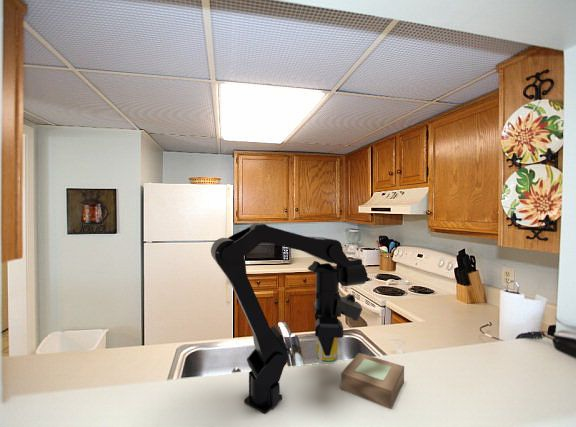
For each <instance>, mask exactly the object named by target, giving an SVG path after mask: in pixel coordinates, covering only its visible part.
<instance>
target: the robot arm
mask: <svg viewBox="0 0 576 427" xmlns="http://www.w3.org/2000/svg"><path fill="white" fill-rule="evenodd" d="M263 242H265V243H270V244H272V245H277V246H281V247H285V248H289V249H293V250H297V251H301V252H304V253H305V254H307V255H310V256H312V257H313V258H316V259H319V260H321V261H324V262H326V263H320V262H319V261H316V260H314V261H313V262H312V264H310V265H309V266H308V267H307V270H308V271H310V272H313V273H314V274H315V301H314V302H313V304H314V305H313V307H314V312H315V313H314V319H315V321H314V329H315V330H314V334H315V337H316V336H317V337H318V339H319V341H320V344H321V346H322V349H323V351H324V354H325V355H326V356H329V355H330V353H331V349H332V345H333V341H334V338H338V339H342V338H344V327H343V323H342V321H341V320H340V319H339V318H341V317H342V315H343V316H345V317H348V318H351V319H352V320H353V321H356V322H359V319H360V316H361V314H362V311H363V306H362V305H361V304H360V303H359V302H358V301H356V297H355V296H354V295H355V294H351V293H348V294H346V296H344V295H343V296H341V295H340V290H339V287H340V286H339V285H341V286H342V287H349V286H350V287H351V286H358V285H359V286H360V285H364V284H365V283H366V282H367V280H368V273H367V269H366V267H365V265H364V264H363V259H361V258H358V257H356V258H351V259H349V257H348V256H347V255H346V254H345V251H344V250H343V245H342V243H341V242H340V241H339V240H337V239H335V238H334V239H333V238H328V237H324V236H323V237H321V236H305V235H302V234H298V233H295V232H291V231H287V230H284V229H280V228H276V227H272V226H268V225H267V224H265V223H261V222H254V223H252V224H251V225H250V226H248V227H246V228H244V229H242V230H240V231H238V232H236V233H233V234H231V236H228V237H220V238H218V239H217V240H215V241H214V242H213V243H212V245H211V248H210V254H211V255H210V256H211V257H212V258H213V260H214V261H215V263H216V264H217V265H218V267H219V268H220V269H221V272H222V273H223V274H224V275H225V276H226V278H227V280H229V283H230V285H231V287H232V290H233V292H234V293H235V296H236V298H237V300H238V303H239V305H240V306H241V310H242V311H243V314H244V315H245V318H246V320H247V323H248V325H249V326H250V329H251V331H252V338H253V344H254V347H255V348H254V350H253V351H252V352H251V353H250V354H249V355H248V356H247V357H246V362H247V364H248V367H249V368H250V371H249V372H248V396H247V397H245V398H244V400H243V401H244V404H246V405H248V406H250V407H252V408H254V409H256V410H257V411H260V412H262V413H263V414H267V413H268V412H269V411H271V409H272V408H273V407H275V406H276V405H277V404H278V403H279V402H280V401H281V400H282V399H283V395H282V394H281V390H280V389H281V388H280V386H281V385H280V380H281V378H282V375H283V371H284V368H285V367H286V365H287V363H288V360H289V351H290V349H289V347H288V346H287V345H286V342H285V338H284V336H283V334H282V333H281V332H280V330H279V329H277V327H276V326H275V325H274V324H273V325H272V326H270V325H269V323H268V320H267V318H266V315H265V313H264V311H263V309H262V307H261V304H260V302H259V300H258V298H257V296H256V293H255V291H254V288H253V286H252V283H251V281H250V279H249V277H248V274H247V273H248V272H247V265H246V259H245V256H247V255H248V254H250V253H251V252H252V251H253V250H254V249H256V247H258V246H259V245H260V244H262V243H263ZM332 264H334V265H332Z"/></svg>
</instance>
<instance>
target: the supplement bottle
mask: <svg viewBox="0 0 576 427" xmlns="http://www.w3.org/2000/svg"><path fill="white" fill-rule="evenodd" d="M315 338H316V339H315V340H316V341H315V359H316V361H317V362H319V364H323V365H328V366H329V365H333V364H335V363H337V361H338V345H339V344H338V342H339V340H338V339H339V338H334V341H333V345H332V349H331V353H330V355H329V356H326V355H325V354H324V351H323V349H322V346H321V344H320V341H319V339H318V337H317V336H315Z"/></svg>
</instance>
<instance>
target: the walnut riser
mask: <svg viewBox="0 0 576 427" xmlns="http://www.w3.org/2000/svg"><path fill="white" fill-rule="evenodd" d="M404 383H405V365H401V364H399V363H395V362H392V361H391V362H390V361H387V360H385V359H382V358H377V357H374V356H371V355H368V354H364V353H361V352H358V353H357V354H356V355H355V357H354V358H352V360H351V361H350V363H348V364H347V366H346V367H345V368H344V369H343V370H342V371H341V374H340V390H342V391H344V392H347V393H350V394H352V395H354V396H357V397H360V398H363V399H366V400H368V401H370V402H373V403H375V404H377V405H380V406H383V407H385V408H388V409H393V407H394V404H395V402H396V400H397V398H398V395H399V394H400V391H401V390H402V387H403V384H404Z"/></svg>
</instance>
